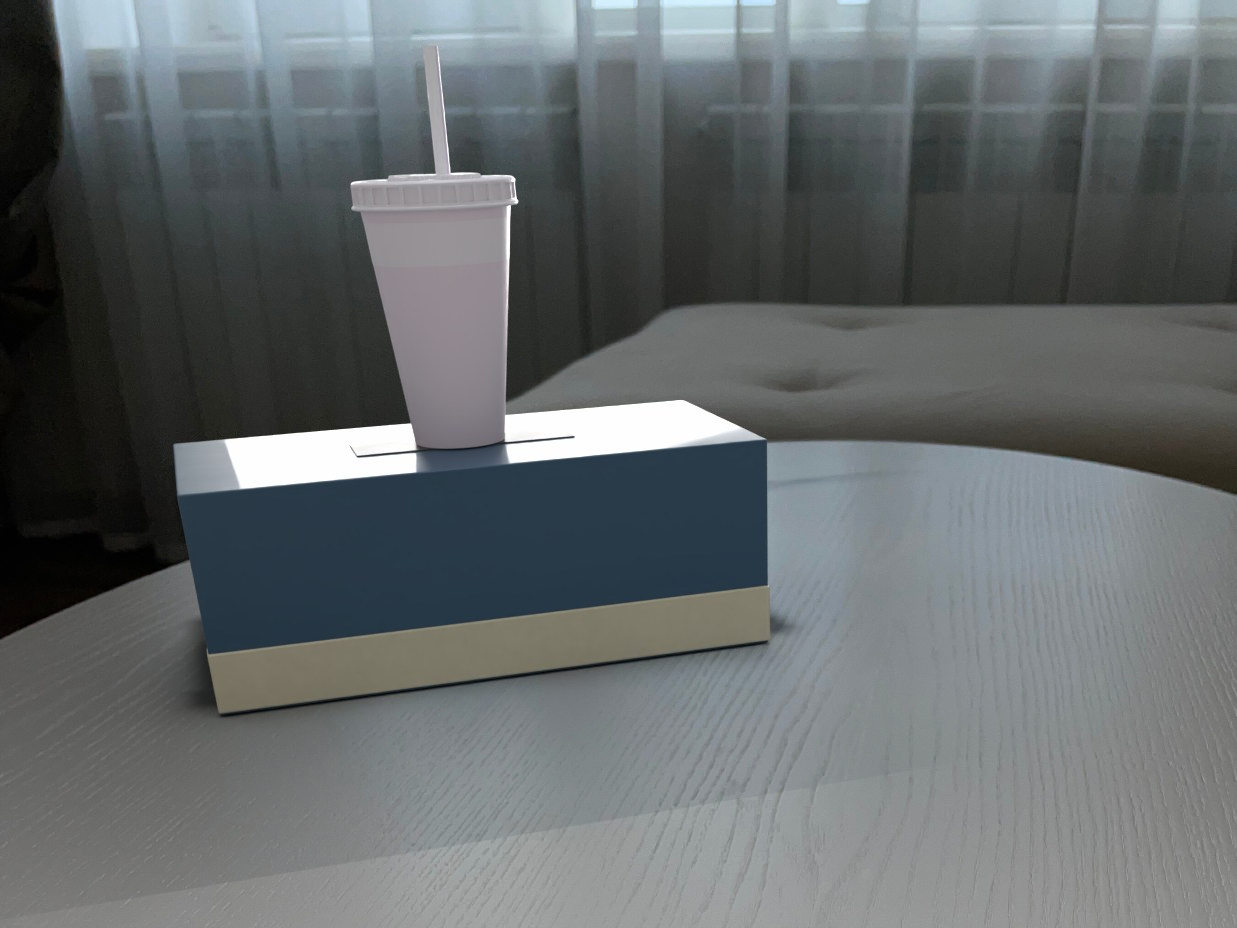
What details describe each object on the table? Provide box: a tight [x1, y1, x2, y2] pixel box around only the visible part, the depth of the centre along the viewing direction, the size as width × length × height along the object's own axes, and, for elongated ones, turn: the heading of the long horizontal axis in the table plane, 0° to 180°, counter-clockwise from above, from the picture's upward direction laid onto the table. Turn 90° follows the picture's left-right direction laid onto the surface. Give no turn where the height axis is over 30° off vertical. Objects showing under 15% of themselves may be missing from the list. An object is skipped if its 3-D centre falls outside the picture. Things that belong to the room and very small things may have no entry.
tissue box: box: [172, 399, 771, 716], centre depth 62 cm, size 23×11×8 cm, turn 108°
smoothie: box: [349, 45, 519, 449], centre depth 57 cm, size 6×6×14 cm
